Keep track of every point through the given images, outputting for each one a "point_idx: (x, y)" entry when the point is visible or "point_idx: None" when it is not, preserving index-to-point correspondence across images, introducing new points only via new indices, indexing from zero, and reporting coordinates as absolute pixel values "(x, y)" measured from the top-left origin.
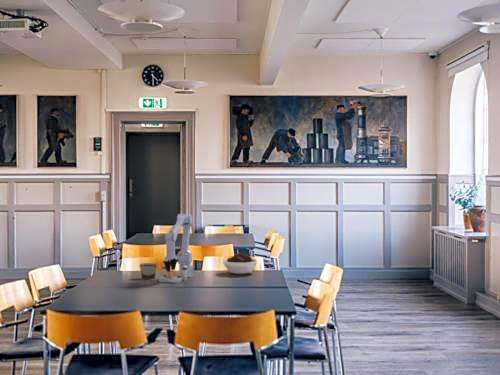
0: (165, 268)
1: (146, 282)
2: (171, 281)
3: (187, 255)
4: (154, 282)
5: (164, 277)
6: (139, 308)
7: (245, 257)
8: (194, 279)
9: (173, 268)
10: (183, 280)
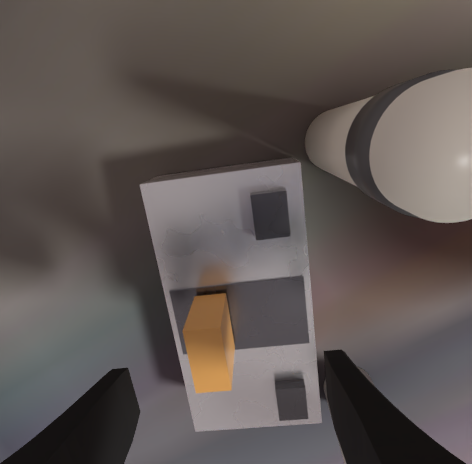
0: (369, 196)
1: (29, 48)
2: None
3: None
4: (92, 149)
5: (168, 260)
6: None
7: None
8: (465, 426)
9: (332, 406)
10: (325, 389)
